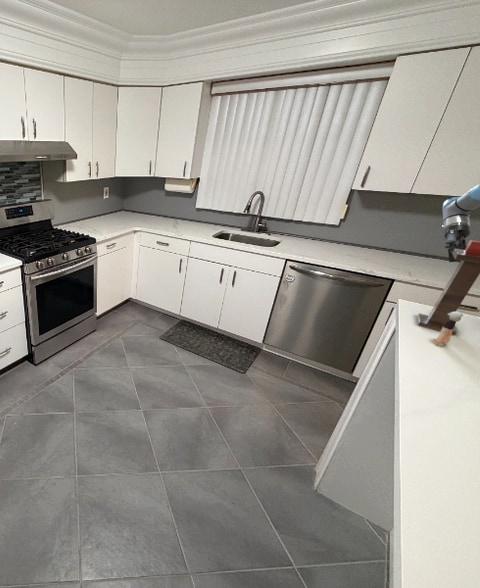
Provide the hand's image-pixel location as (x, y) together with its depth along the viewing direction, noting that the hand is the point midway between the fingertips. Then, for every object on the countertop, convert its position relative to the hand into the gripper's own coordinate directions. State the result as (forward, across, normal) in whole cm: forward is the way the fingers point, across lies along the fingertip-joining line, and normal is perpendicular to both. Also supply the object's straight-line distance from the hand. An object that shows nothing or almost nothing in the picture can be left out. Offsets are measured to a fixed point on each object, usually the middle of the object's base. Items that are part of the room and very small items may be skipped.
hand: (460, 268), depth 132 cm
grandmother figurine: (+43, +22, -2) cm, 49 cm away
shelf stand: (+30, +10, -6) cm, 32 cm away
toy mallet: (+7, +22, +8) cm, 25 cm away
